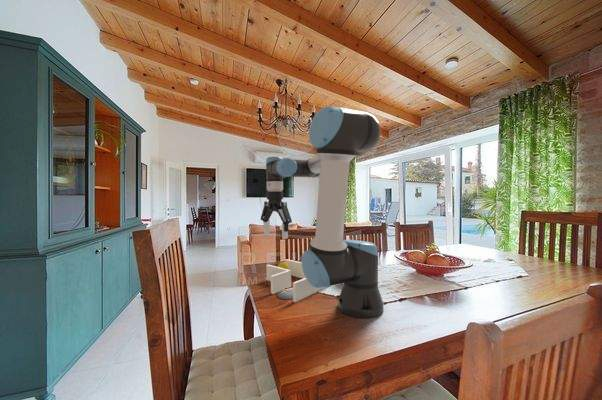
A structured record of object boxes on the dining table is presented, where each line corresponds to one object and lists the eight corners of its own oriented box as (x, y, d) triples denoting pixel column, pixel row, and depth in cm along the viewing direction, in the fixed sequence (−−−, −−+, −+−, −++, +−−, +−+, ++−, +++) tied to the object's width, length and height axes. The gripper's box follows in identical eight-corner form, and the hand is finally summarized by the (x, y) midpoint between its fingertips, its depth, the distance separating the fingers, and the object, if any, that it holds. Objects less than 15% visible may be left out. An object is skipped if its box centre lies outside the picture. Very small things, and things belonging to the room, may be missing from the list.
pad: (302, 294, 100) (302, 293, 100) (288, 301, 94) (288, 300, 94) (288, 289, 106) (288, 288, 106) (273, 295, 100) (273, 294, 100)
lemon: (290, 276, 122) (290, 260, 122) (286, 280, 117) (286, 263, 117) (280, 275, 124) (279, 259, 124) (275, 279, 119) (275, 262, 119)
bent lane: (331, 285, 110) (331, 269, 110) (295, 302, 93) (295, 283, 93) (287, 273, 128) (286, 259, 128) (250, 285, 111) (250, 269, 111)
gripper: (252, 191, 124) (253, 235, 125) (286, 190, 106) (287, 241, 107) (265, 191, 129) (266, 233, 130) (299, 190, 111) (300, 239, 112)
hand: (275, 237), depth 118 cm, fingers open, 13 cm apart
